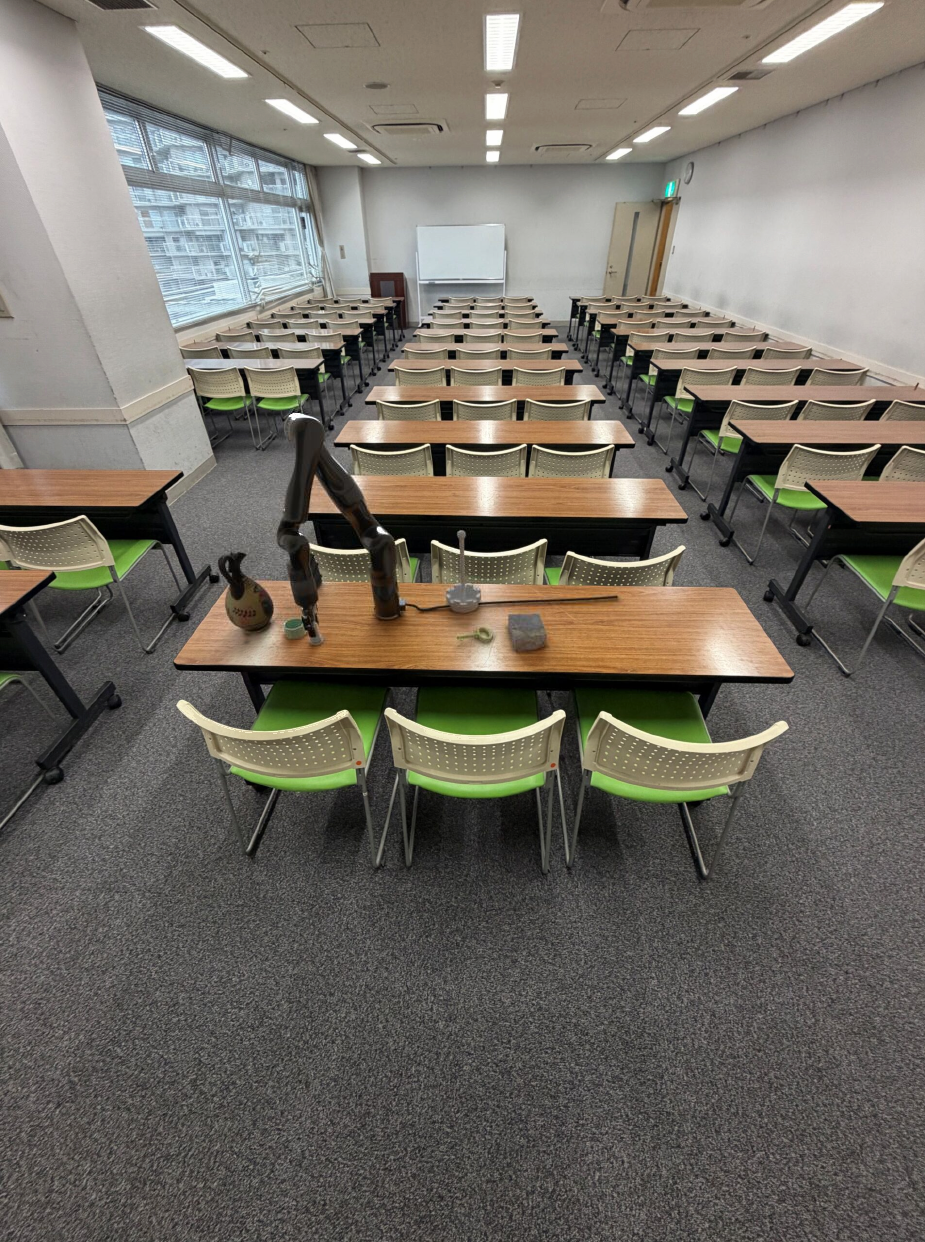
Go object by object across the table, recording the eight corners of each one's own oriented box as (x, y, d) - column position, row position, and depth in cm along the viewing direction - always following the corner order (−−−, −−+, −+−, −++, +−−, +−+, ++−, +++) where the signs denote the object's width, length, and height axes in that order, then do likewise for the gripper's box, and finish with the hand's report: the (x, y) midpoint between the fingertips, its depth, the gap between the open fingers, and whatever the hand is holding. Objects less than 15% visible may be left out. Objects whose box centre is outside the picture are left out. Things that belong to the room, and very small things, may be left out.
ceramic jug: (248, 612, 191) (223, 539, 174) (285, 615, 188) (265, 542, 171) (221, 639, 177) (192, 563, 160) (262, 644, 175) (237, 567, 157)
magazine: (325, 574, 209) (313, 552, 196) (317, 602, 202) (304, 581, 189) (316, 574, 209) (303, 552, 196) (308, 601, 203) (294, 581, 190)
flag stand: (481, 614, 186) (480, 539, 168) (445, 614, 186) (441, 539, 168) (480, 594, 196) (480, 522, 179) (447, 595, 197) (443, 523, 179)
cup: (307, 626, 182) (305, 617, 180) (304, 638, 177) (302, 628, 174) (288, 628, 182) (285, 618, 179) (284, 640, 176) (281, 630, 174)
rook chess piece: (326, 639, 176) (321, 620, 171) (318, 647, 172) (313, 628, 168) (315, 636, 177) (311, 617, 173) (307, 644, 174) (302, 625, 169)
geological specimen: (538, 611, 177) (548, 635, 165) (537, 625, 181) (547, 650, 168) (508, 612, 177) (515, 637, 164) (507, 627, 180) (514, 652, 167)
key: (455, 641, 173) (455, 636, 172) (484, 628, 179) (484, 623, 177) (468, 651, 168) (467, 646, 167) (497, 638, 174) (497, 633, 173)
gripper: (312, 600, 157) (323, 643, 167) (319, 576, 168) (328, 617, 178) (288, 601, 156) (299, 645, 166) (295, 577, 168) (306, 619, 178)
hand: (314, 630), depth 172 cm, fingers open, 6 cm apart
